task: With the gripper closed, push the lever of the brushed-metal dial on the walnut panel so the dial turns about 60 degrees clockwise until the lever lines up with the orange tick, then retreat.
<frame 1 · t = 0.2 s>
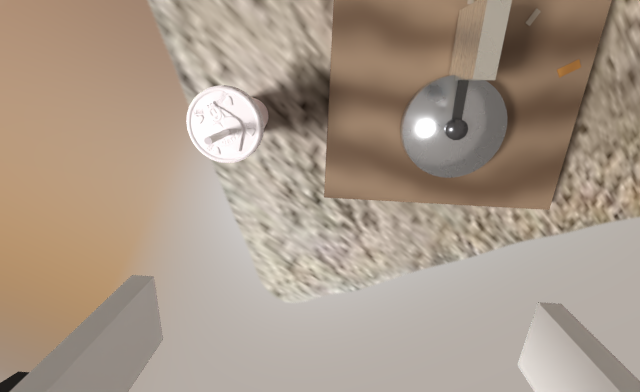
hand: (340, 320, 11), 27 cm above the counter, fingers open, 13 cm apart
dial: (465, 100, 29), point 5 cm above the counter, hinge at 0.0°
panel: (445, 105, 35), on the counter
smoothie: (252, 114, 36), on the counter
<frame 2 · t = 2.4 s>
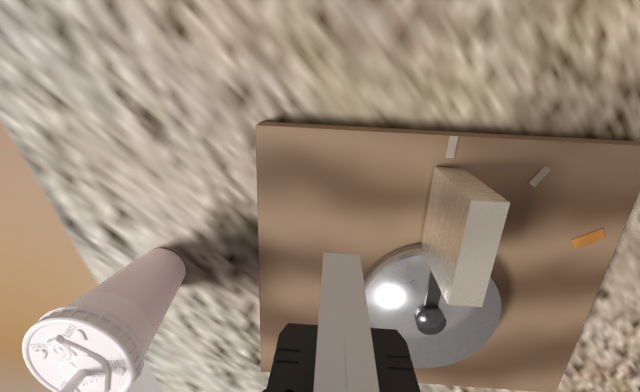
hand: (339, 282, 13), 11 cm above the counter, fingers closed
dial: (441, 297, 21), point 5 cm above the counter, hinge at 0.0°
panel: (419, 263, 26), on the counter
smoothie: (164, 266, 27), on the counter
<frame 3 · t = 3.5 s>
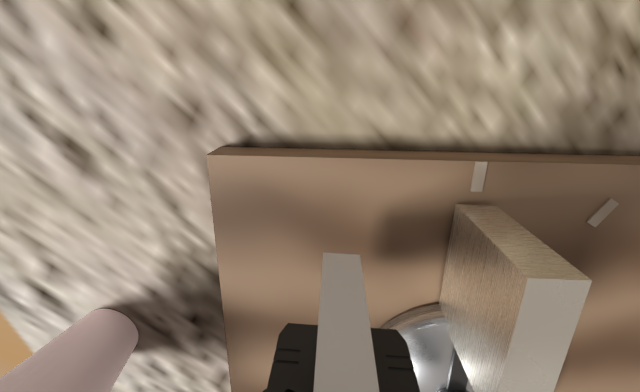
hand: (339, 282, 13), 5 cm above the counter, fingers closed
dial: (472, 386, 15), point 5 cm above the counter, hinge at 0.0°
panel: (436, 320, 20), on the counter
smoothie: (112, 329, 22), on the counter
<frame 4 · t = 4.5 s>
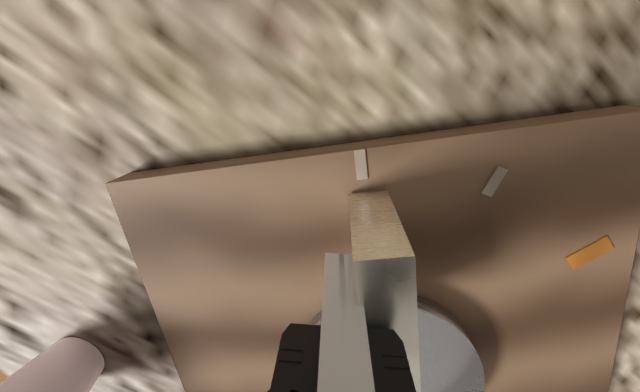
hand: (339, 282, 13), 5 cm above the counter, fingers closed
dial: (386, 372, 15), point 5 cm above the counter, hinge at -0.9°, touching gripper
panel: (375, 310, 20), on the counter
smoothie: (80, 355, 23), on the counter
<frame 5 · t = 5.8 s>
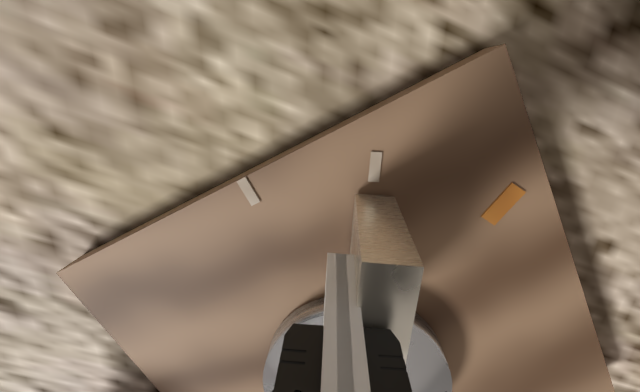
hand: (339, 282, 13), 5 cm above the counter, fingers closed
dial: (361, 375, 15), point 5 cm above the counter, hinge at -30.6°, touching gripper
panel: (339, 314, 20), on the counter
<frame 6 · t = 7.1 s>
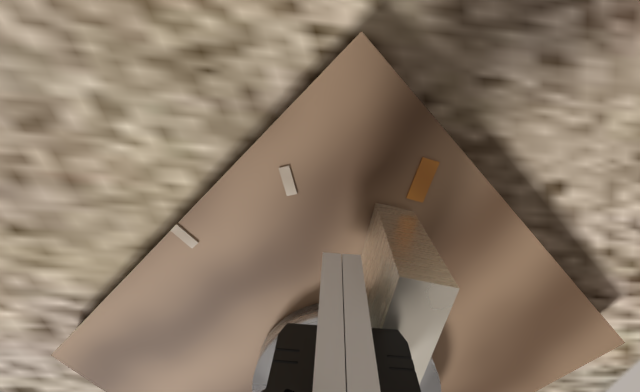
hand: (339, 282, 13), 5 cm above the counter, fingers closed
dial: (359, 383, 15), point 5 cm above the counter, hinge at -55.6°
panel: (321, 324, 20), on the counter
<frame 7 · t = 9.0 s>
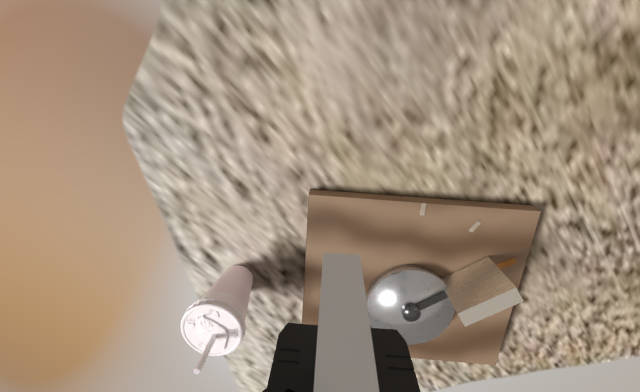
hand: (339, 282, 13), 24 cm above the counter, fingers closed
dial: (436, 308, 35), point 5 cm above the counter, hinge at -54.8°
panel: (406, 277, 40), on the counter
smoothie: (239, 276, 41), on the counter
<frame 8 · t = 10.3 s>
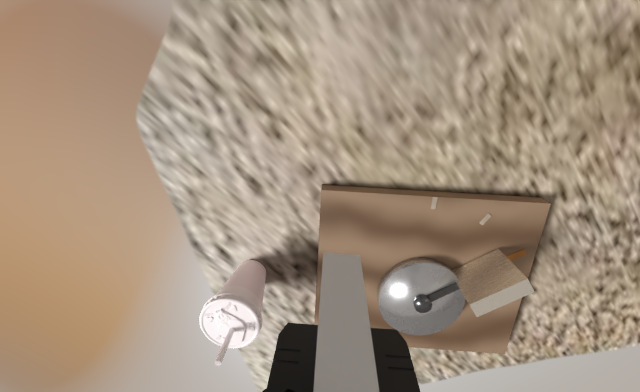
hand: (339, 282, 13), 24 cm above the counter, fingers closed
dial: (447, 299, 36), point 5 cm above the counter, hinge at -54.8°
panel: (416, 269, 41), on the counter
smoothie: (252, 271, 42), on the counter
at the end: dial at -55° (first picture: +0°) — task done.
